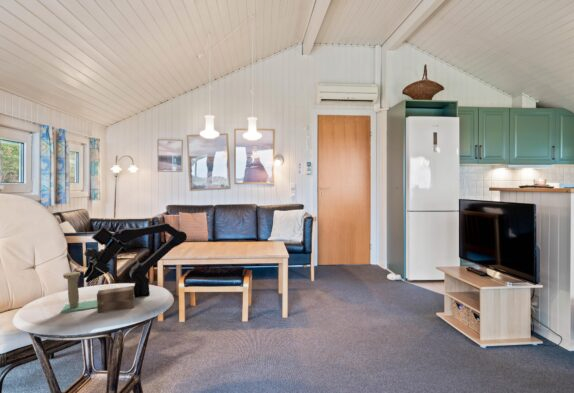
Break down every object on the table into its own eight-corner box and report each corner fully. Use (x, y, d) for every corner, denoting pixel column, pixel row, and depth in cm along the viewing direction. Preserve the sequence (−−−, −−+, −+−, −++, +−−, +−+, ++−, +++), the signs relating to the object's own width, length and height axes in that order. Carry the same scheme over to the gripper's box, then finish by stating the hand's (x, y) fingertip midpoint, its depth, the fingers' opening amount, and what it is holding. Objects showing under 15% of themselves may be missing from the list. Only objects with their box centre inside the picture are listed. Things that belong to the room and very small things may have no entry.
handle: (79, 308, 152) (77, 274, 152) (63, 309, 151) (61, 275, 151) (84, 304, 157) (82, 271, 156) (69, 305, 156) (66, 272, 155)
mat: (100, 300, 163) (100, 299, 163) (97, 308, 154) (97, 306, 154) (66, 305, 158) (65, 304, 158) (60, 313, 149) (60, 312, 149)
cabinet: (134, 303, 159) (133, 285, 158) (133, 308, 151) (132, 290, 151) (100, 308, 154) (98, 290, 153) (97, 314, 146) (96, 295, 146)
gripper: (92, 238, 166) (67, 265, 160) (98, 243, 151) (70, 273, 145) (112, 252, 171) (88, 279, 165) (119, 258, 156) (93, 288, 150)
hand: (84, 279), depth 156 cm, fingers open, 9 cm apart
